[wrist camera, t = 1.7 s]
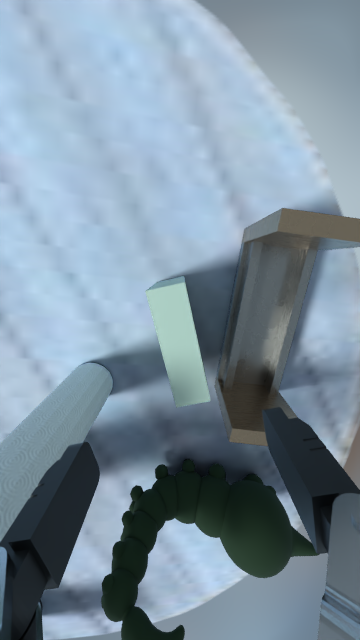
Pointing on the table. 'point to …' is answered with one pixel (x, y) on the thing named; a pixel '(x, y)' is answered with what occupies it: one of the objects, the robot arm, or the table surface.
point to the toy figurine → (213, 520)
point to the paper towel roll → (49, 436)
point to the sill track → (270, 312)
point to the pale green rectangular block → (178, 341)
